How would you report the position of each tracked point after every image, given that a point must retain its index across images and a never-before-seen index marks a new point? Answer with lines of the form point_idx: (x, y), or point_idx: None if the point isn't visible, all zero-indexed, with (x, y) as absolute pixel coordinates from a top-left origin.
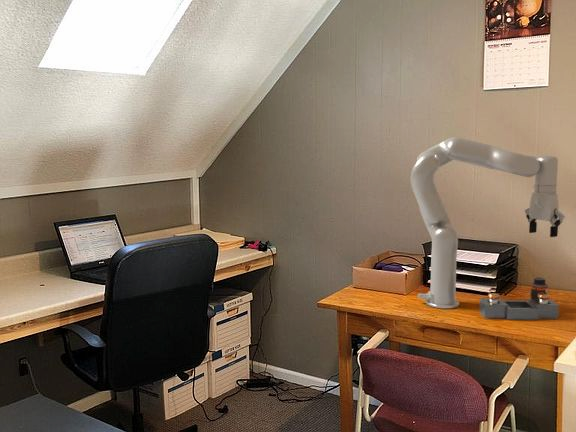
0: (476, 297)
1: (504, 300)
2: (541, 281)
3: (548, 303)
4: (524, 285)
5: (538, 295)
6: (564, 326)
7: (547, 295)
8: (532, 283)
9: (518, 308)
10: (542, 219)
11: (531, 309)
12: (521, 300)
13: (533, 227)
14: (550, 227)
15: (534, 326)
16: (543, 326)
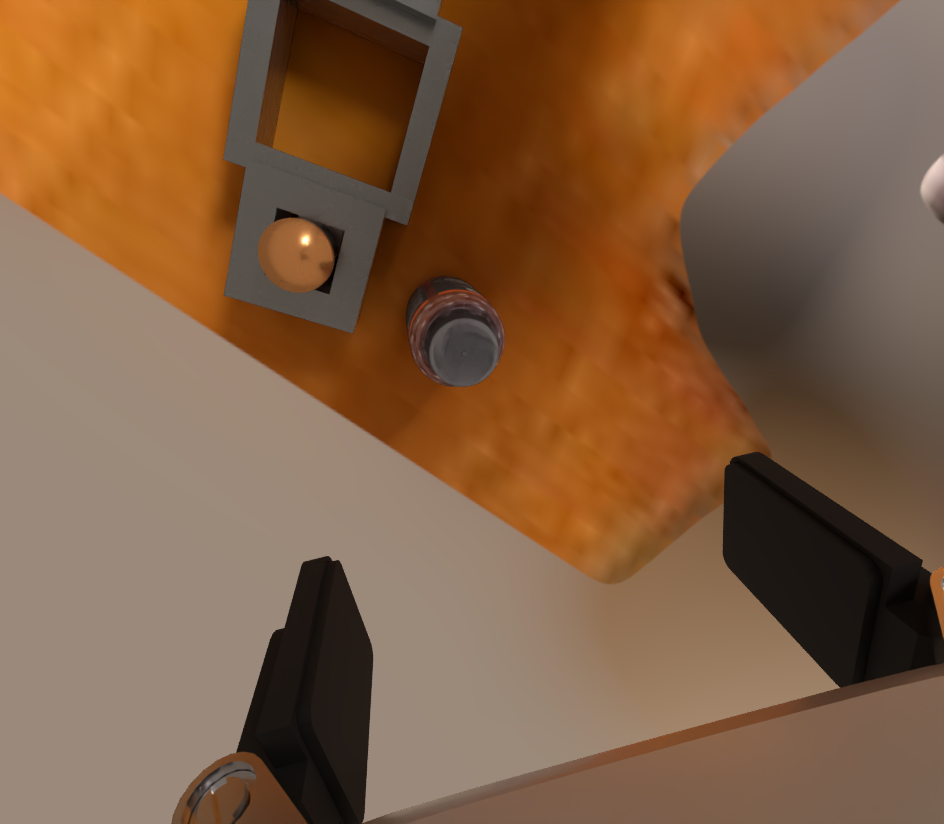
0: (708, 93)
1: (447, 64)
2: (429, 341)
3: None
4: None
5: (300, 219)
6: (118, 233)
7: (279, 270)
8: (489, 313)
9: (258, 29)
10: (501, 798)
11: (232, 113)
12: (416, 179)
13: (784, 561)
14: (309, 698)
15: (129, 57)
16: (125, 114)
